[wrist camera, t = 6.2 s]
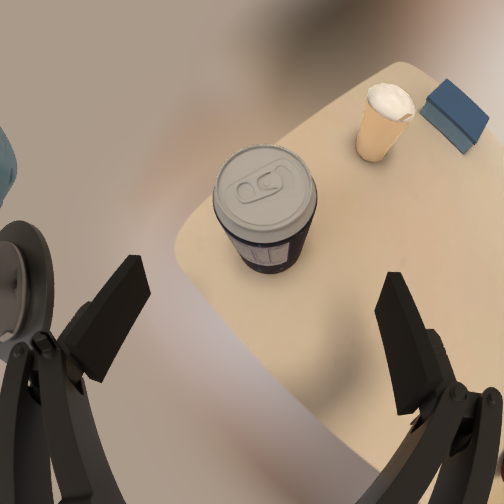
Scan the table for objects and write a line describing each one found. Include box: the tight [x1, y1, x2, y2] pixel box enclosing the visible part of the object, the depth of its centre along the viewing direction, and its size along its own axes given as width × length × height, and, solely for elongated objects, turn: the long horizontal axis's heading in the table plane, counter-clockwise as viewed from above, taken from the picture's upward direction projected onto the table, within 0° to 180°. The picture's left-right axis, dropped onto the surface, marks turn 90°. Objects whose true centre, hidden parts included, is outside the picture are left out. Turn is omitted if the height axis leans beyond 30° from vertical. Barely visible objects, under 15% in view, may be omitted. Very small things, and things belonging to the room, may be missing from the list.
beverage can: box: [213, 144, 317, 274], centre depth 19 cm, size 6×6×12 cm
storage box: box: [420, 79, 489, 154], centre depth 25 cm, size 8×8×4 cm
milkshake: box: [356, 83, 416, 162], centre depth 21 cm, size 4×5×10 cm
